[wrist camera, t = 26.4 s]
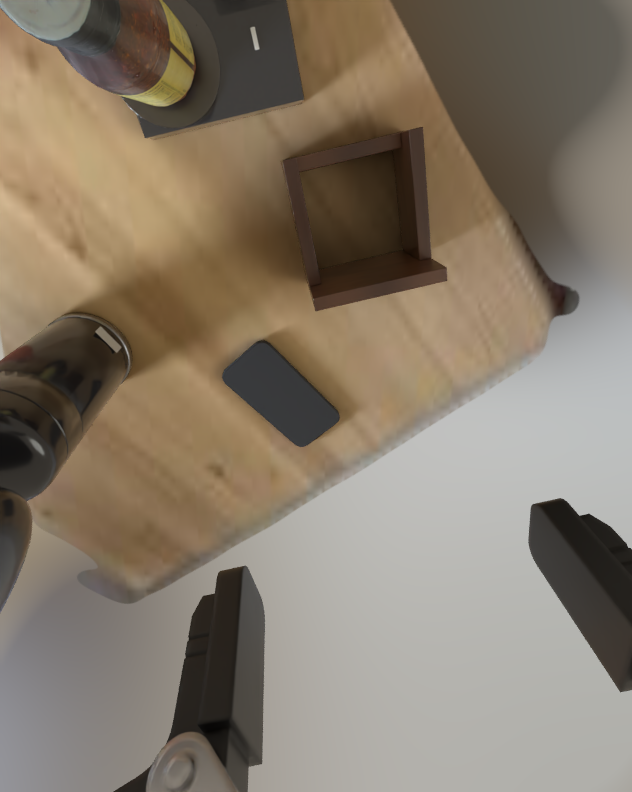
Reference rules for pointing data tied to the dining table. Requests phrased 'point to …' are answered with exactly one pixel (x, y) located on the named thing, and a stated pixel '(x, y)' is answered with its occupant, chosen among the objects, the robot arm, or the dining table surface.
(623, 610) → the robot arm
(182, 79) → the sauce bottle
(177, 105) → the burner ring
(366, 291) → the spice rack
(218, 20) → the hob
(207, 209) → the dining table surface
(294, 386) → the phone
